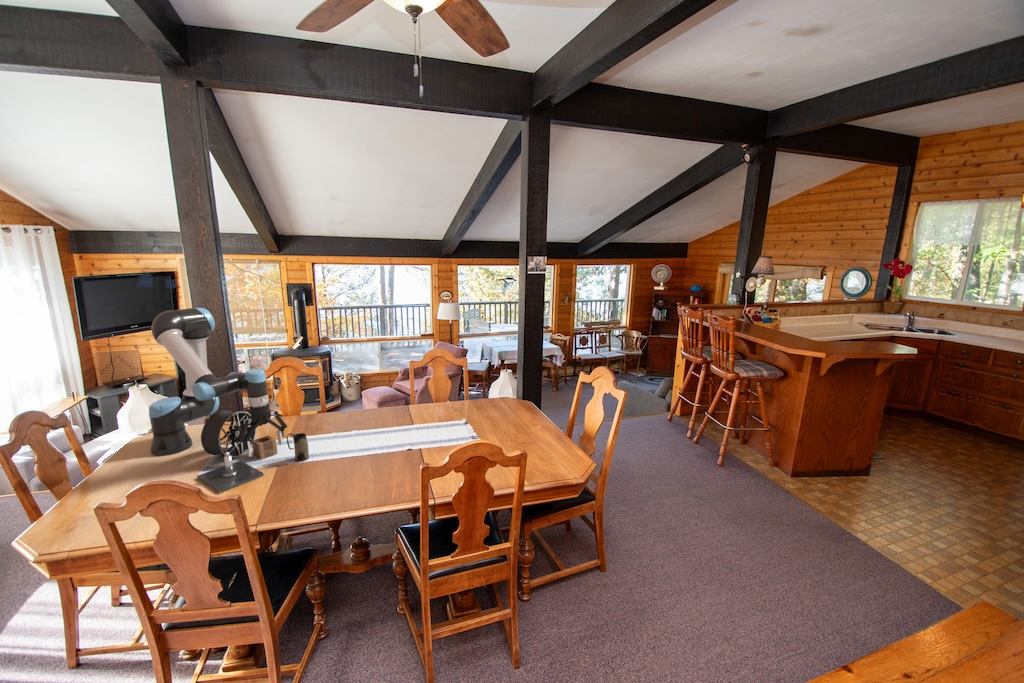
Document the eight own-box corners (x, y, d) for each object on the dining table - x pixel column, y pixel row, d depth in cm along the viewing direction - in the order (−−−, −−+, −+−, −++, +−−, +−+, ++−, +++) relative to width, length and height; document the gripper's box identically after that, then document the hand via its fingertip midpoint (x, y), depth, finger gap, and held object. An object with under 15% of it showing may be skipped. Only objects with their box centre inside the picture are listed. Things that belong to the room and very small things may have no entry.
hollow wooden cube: (253, 455, 189) (251, 441, 188) (269, 449, 195) (267, 435, 193) (261, 459, 185) (259, 444, 184) (277, 453, 191) (275, 439, 189)
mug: (310, 455, 189) (307, 430, 186) (307, 461, 184) (304, 435, 181) (291, 457, 187) (288, 431, 185) (287, 463, 182) (284, 436, 180)
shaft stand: (197, 478, 169) (193, 453, 167) (240, 462, 182) (237, 439, 180) (219, 493, 158) (215, 467, 156) (263, 475, 171) (260, 451, 169)
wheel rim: (222, 465, 180) (215, 421, 176) (204, 463, 182) (197, 419, 178) (258, 445, 199) (253, 405, 195) (242, 443, 201) (236, 403, 197)
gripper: (231, 414, 173) (239, 462, 177) (291, 398, 193) (297, 441, 197) (223, 411, 177) (231, 458, 181) (283, 395, 197) (288, 438, 201)
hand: (265, 449), depth 189 cm, fingers open, 13 cm apart
